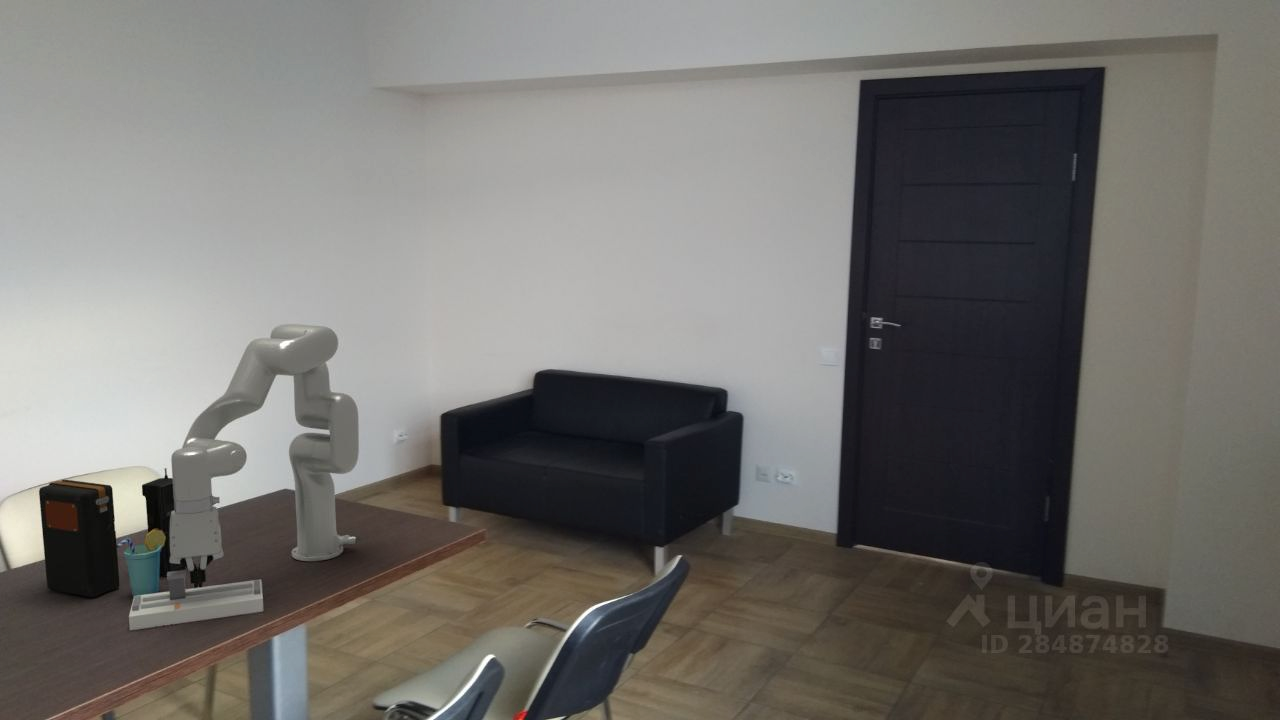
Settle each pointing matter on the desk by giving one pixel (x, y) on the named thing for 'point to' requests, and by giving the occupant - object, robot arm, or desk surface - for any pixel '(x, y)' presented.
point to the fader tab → (177, 584)
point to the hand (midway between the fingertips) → (198, 585)
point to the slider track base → (196, 605)
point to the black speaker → (79, 537)
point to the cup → (144, 563)
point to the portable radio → (161, 516)
